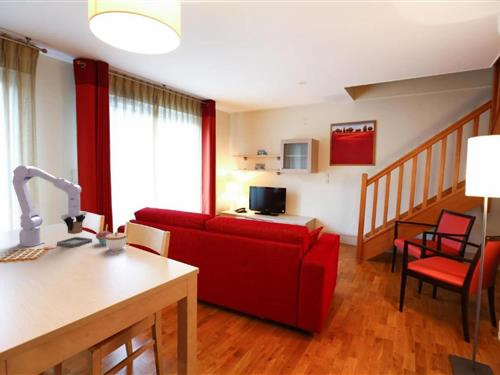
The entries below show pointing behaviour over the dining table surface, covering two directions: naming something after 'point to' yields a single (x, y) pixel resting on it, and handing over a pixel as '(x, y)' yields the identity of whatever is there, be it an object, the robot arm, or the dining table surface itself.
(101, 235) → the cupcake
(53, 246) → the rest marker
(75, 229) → the walnut block
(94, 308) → the dining table surface
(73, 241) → the slate tray
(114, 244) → the lidded jar
